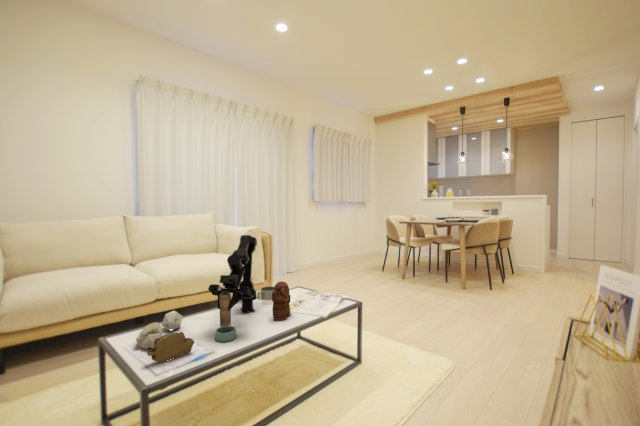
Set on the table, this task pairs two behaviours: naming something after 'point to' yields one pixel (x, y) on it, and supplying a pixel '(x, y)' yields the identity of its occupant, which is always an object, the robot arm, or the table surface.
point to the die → (172, 320)
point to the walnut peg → (225, 309)
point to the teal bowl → (225, 334)
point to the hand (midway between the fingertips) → (223, 309)
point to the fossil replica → (149, 335)
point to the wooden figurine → (281, 301)
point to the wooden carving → (170, 346)
